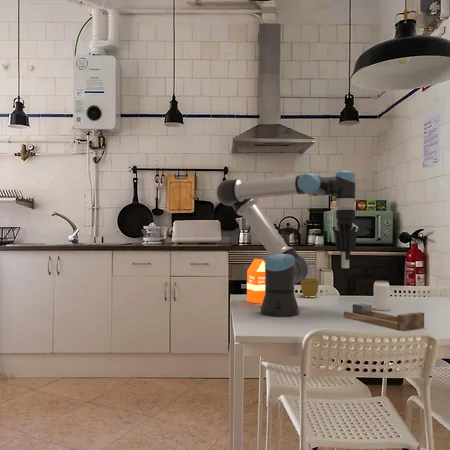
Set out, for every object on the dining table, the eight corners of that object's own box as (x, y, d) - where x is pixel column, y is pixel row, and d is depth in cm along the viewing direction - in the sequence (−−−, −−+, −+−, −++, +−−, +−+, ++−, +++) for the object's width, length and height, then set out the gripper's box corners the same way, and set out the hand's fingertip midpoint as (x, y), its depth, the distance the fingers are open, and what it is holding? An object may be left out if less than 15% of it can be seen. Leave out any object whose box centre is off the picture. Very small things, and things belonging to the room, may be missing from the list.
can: (373, 310, 189) (373, 281, 190) (373, 307, 196) (373, 280, 196) (389, 311, 187) (389, 282, 187) (389, 308, 193) (389, 280, 193)
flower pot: (300, 295, 231) (300, 278, 231) (317, 296, 230) (317, 278, 230) (300, 298, 222) (300, 279, 222) (318, 298, 221) (318, 280, 221)
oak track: (402, 330, 150) (402, 315, 150) (343, 317, 174) (343, 304, 174) (424, 327, 156) (424, 313, 156) (364, 314, 179) (364, 301, 179)
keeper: (362, 319, 170) (362, 306, 170) (352, 317, 174) (352, 304, 174) (371, 318, 172) (371, 305, 172) (361, 316, 177) (361, 303, 177)
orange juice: (255, 304, 203) (255, 259, 203) (246, 301, 211) (246, 258, 211) (270, 303, 206) (270, 259, 206) (261, 300, 214) (261, 258, 214)
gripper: (364, 209, 178) (364, 268, 177) (340, 210, 189) (340, 266, 189) (350, 208, 174) (350, 269, 174) (327, 209, 185) (327, 267, 185)
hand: (345, 267), depth 181 cm, fingers closed
